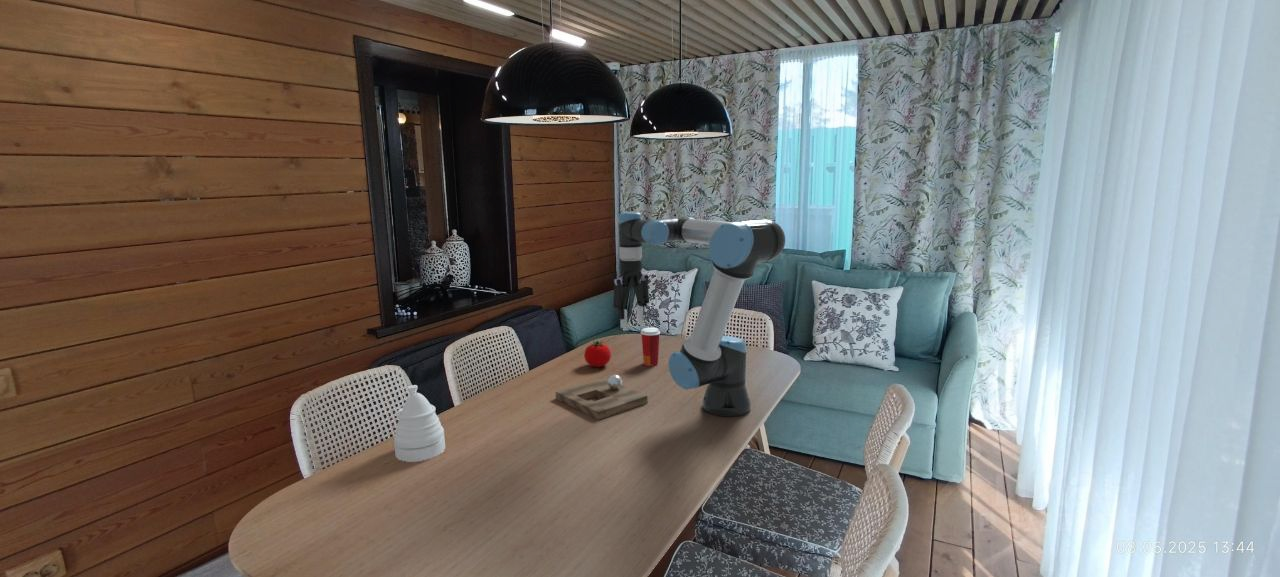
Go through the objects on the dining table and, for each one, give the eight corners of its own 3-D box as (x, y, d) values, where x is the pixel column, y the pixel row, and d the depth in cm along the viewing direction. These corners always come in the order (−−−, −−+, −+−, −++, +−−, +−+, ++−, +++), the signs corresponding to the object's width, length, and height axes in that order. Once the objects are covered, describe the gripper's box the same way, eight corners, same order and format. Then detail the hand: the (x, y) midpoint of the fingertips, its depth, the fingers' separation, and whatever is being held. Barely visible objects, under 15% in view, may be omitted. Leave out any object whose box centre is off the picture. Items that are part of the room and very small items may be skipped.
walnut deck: (647, 403, 192) (647, 395, 192) (598, 419, 180) (598, 412, 179) (603, 384, 210) (603, 377, 210) (555, 398, 198) (555, 391, 197)
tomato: (593, 360, 238) (592, 336, 236) (616, 364, 233) (615, 339, 231) (579, 368, 229) (578, 343, 227) (603, 371, 224) (602, 346, 222)
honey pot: (389, 450, 162) (382, 388, 159) (434, 436, 170) (429, 377, 167) (404, 467, 152) (398, 401, 149) (452, 451, 160) (447, 389, 157)
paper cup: (661, 361, 236) (660, 327, 233) (659, 367, 229) (659, 332, 226) (641, 360, 237) (641, 327, 234) (639, 366, 229) (639, 332, 227)
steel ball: (625, 389, 198) (625, 375, 197) (613, 392, 195) (613, 378, 194) (616, 385, 202) (615, 371, 201) (604, 389, 199) (604, 374, 198)
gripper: (645, 255, 204) (646, 319, 209) (600, 261, 192) (602, 329, 196) (659, 257, 199) (660, 323, 203) (614, 263, 186) (616, 333, 191)
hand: (632, 326), depth 200 cm, fingers open, 6 cm apart
